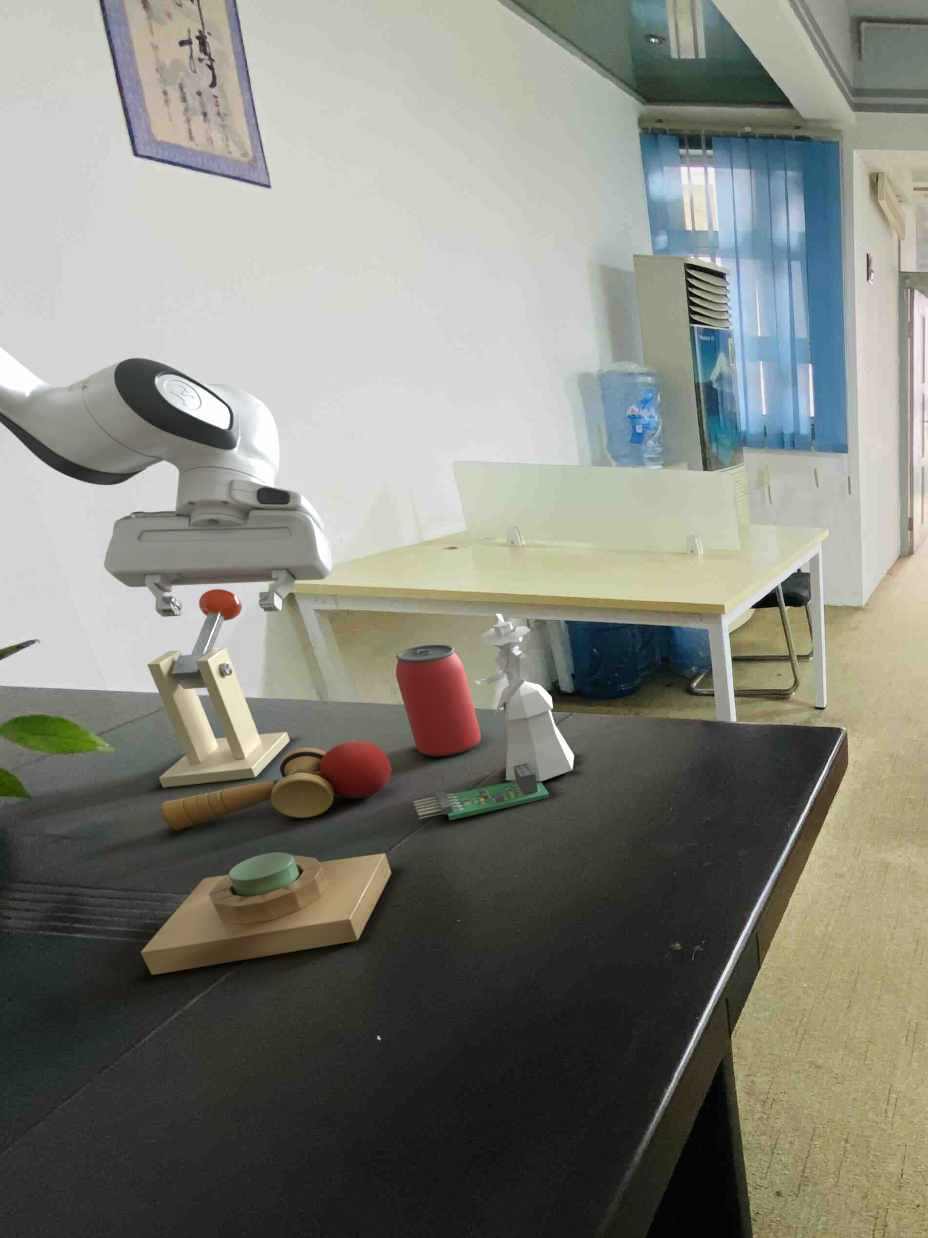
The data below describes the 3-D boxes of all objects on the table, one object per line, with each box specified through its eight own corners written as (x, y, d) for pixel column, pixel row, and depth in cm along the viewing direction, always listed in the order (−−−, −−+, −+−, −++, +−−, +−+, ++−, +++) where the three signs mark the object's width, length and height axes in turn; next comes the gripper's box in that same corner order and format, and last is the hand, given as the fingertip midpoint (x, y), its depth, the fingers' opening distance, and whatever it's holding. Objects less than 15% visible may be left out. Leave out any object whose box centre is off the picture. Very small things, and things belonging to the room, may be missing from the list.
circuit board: (415, 802, 79) (407, 783, 82) (422, 830, 80) (413, 810, 83) (546, 775, 86) (533, 758, 89) (550, 801, 87) (537, 783, 90)
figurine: (488, 775, 90) (448, 618, 83) (553, 750, 97) (521, 602, 90) (528, 788, 87) (490, 626, 80) (592, 761, 94) (562, 609, 87)
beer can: (465, 731, 101) (442, 639, 96) (493, 744, 98) (470, 650, 93) (407, 748, 96) (379, 653, 91) (434, 764, 93) (406, 665, 88)
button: (227, 902, 63) (218, 883, 62) (248, 874, 66) (241, 856, 66) (289, 893, 64) (282, 874, 63) (307, 866, 68) (300, 848, 67)
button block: (151, 975, 60) (129, 932, 59) (213, 899, 69) (195, 860, 67) (357, 941, 65) (343, 900, 63) (391, 873, 73) (379, 835, 71)
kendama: (174, 863, 75) (396, 795, 83) (138, 802, 73) (369, 739, 81) (199, 837, 82) (403, 777, 90) (167, 781, 80) (379, 724, 88)
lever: (213, 607, 95) (196, 583, 92) (251, 605, 96) (235, 581, 93) (178, 694, 86) (159, 670, 84) (220, 690, 88) (202, 667, 85)
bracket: (206, 748, 94) (164, 644, 89) (290, 740, 97) (253, 638, 91) (162, 787, 86) (112, 674, 80) (255, 777, 88) (212, 667, 83)
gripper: (97, 495, 91) (82, 603, 87) (316, 493, 98) (312, 592, 93) (134, 528, 96) (122, 630, 92) (339, 524, 103) (336, 619, 99)
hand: (219, 611), depth 93 cm, fingers open, 8 cm apart
